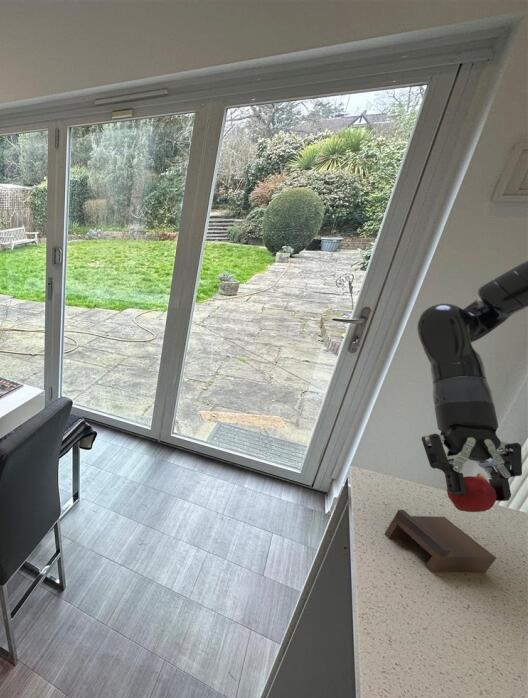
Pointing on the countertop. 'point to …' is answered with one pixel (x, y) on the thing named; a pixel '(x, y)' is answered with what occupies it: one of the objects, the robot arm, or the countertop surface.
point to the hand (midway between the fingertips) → (479, 497)
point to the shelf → (442, 543)
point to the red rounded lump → (475, 495)
